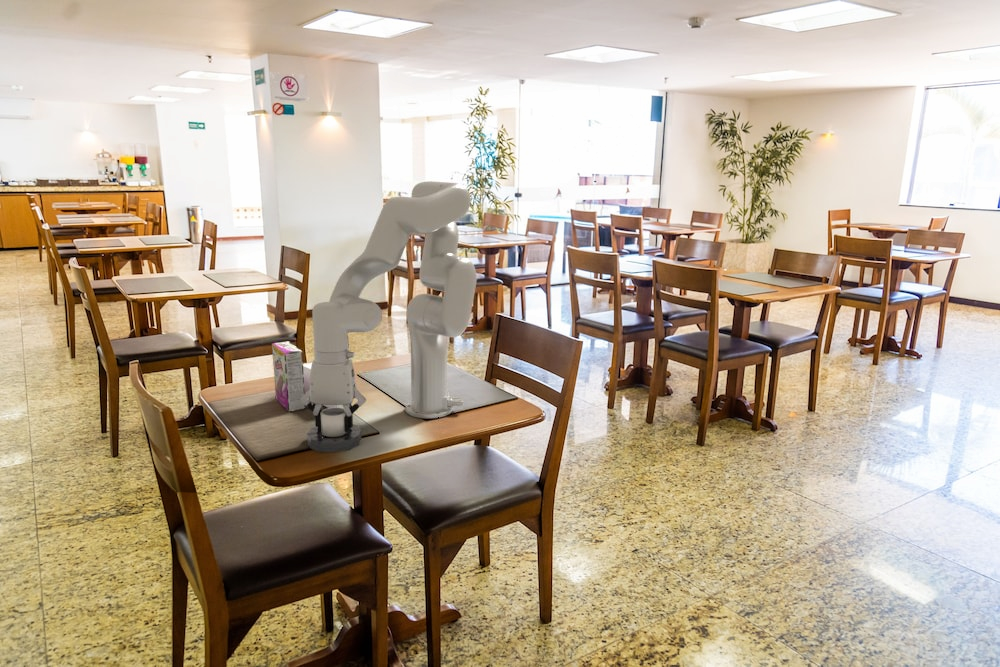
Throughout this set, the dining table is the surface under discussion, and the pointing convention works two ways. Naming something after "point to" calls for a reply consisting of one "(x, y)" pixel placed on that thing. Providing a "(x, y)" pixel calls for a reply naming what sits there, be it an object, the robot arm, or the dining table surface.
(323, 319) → the robot arm
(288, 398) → the candy bar box
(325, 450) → the gray notched ring
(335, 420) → the white short cylinder
